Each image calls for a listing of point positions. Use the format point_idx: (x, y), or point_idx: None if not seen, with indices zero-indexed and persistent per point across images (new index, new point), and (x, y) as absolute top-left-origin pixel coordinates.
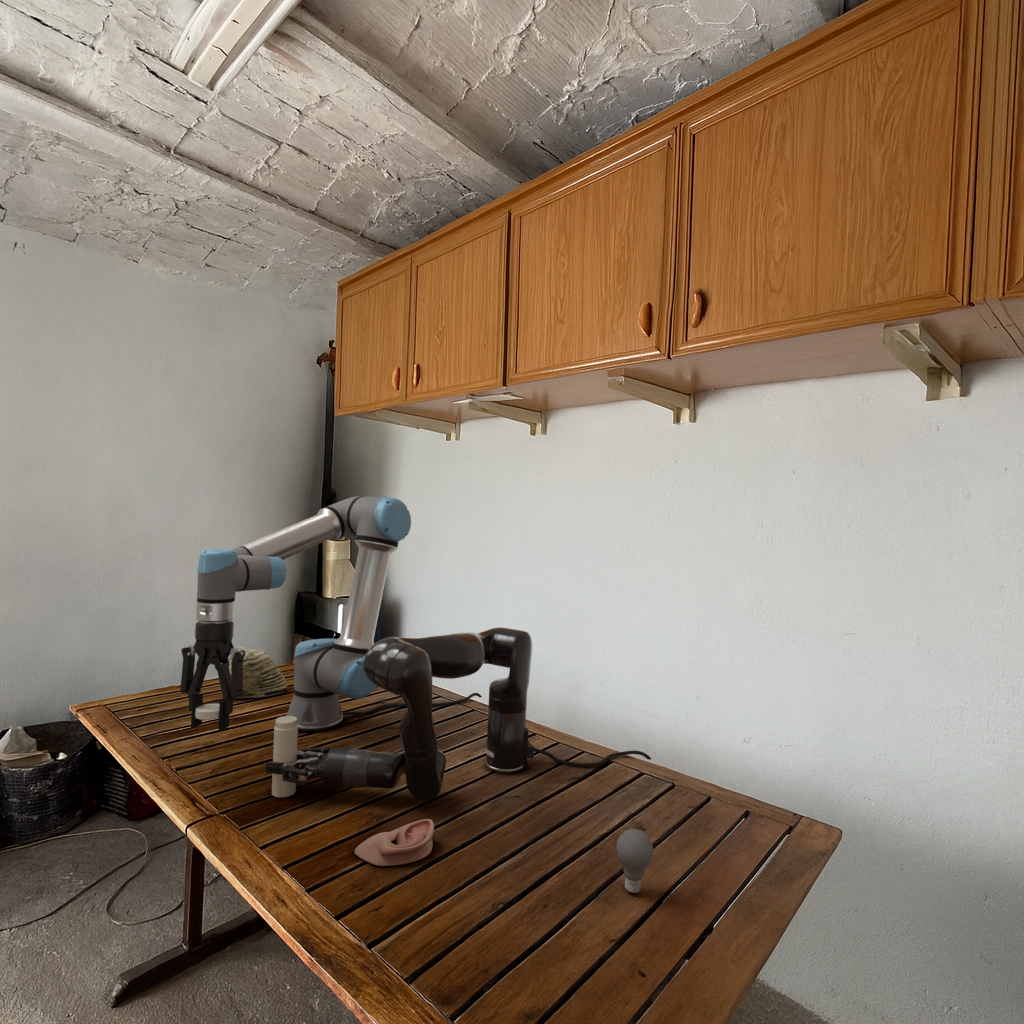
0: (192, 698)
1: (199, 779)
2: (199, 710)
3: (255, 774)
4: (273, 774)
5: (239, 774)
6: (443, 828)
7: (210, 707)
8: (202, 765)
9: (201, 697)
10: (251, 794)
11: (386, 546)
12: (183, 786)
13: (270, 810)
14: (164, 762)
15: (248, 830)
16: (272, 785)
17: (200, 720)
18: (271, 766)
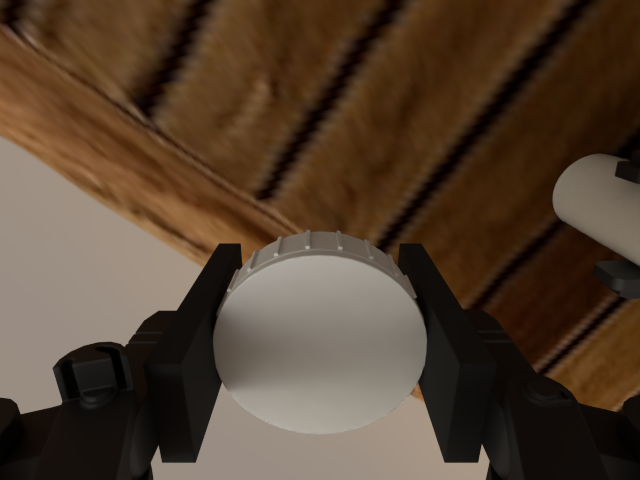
0: (167, 457)
1: (274, 166)
2: (282, 420)
3: (445, 82)
4: (605, 246)
5: (387, 96)
6: None
7: (315, 349)
8: (205, 51)
9: (192, 372)
10: (492, 225)
11: None
12: (259, 222)
13: (579, 296)
14: (48, 61)
15: None
16: (576, 227)
17: (236, 269)
18: (635, 297)
